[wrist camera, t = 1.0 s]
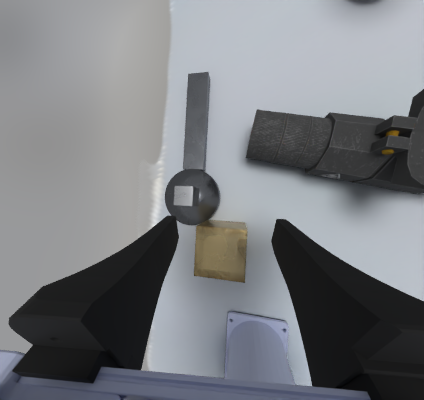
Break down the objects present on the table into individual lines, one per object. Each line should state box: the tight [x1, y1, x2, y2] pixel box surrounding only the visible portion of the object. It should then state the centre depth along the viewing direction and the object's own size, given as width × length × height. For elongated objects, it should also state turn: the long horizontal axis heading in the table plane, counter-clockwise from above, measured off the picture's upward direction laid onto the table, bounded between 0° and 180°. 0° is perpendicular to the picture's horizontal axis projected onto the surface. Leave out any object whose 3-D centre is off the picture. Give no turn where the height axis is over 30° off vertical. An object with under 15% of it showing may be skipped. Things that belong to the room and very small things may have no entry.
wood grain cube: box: [194, 220, 247, 283], centre depth 19 cm, size 6×6×6 cm
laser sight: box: [246, 89, 424, 193], centre depth 15 cm, size 10×22×10 cm, turn 77°
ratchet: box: [165, 72, 220, 225], centre depth 21 cm, size 22×8×5 cm, turn 177°
